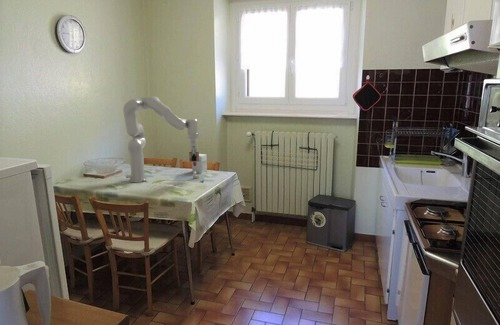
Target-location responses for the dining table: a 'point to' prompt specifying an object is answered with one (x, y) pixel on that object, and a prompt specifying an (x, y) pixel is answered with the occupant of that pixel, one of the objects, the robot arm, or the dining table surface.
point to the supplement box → (200, 164)
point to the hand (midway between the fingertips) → (194, 159)
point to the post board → (190, 177)
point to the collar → (191, 156)
